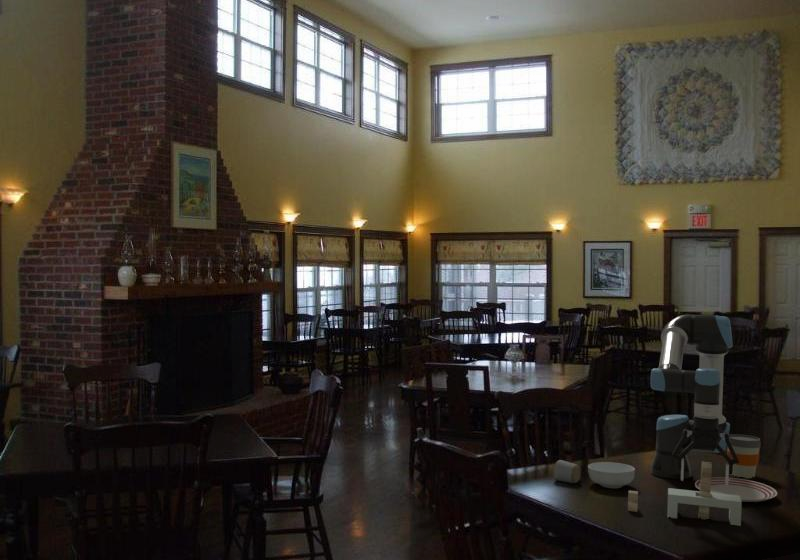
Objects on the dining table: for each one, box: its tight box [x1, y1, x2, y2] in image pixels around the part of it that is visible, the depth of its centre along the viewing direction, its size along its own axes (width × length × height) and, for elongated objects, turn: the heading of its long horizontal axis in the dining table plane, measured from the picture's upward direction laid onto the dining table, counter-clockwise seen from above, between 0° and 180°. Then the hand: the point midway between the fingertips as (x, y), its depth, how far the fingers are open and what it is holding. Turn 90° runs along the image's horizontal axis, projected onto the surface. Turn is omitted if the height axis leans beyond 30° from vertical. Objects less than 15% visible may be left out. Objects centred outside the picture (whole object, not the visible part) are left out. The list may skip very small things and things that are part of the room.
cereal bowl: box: [587, 461, 636, 489], centre depth 300 cm, size 17×17×7 cm
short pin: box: [627, 490, 639, 513], centre depth 270 cm, size 3×3×6 cm
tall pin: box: [698, 460, 713, 520], centre depth 263 cm, size 3×3×18 cm
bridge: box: [666, 487, 743, 527], centre depth 263 cm, size 8×22×8 cm, turn 72°
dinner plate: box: [694, 476, 778, 503], centre depth 292 cm, size 28×27×3 cm
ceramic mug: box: [553, 459, 582, 484], centre depth 305 cm, size 11×8×8 cm
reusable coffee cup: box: [726, 434, 762, 479], centre depth 321 cm, size 12×13×15 cm
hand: (704, 482), depth 263 cm, fingers open, 13 cm apart
